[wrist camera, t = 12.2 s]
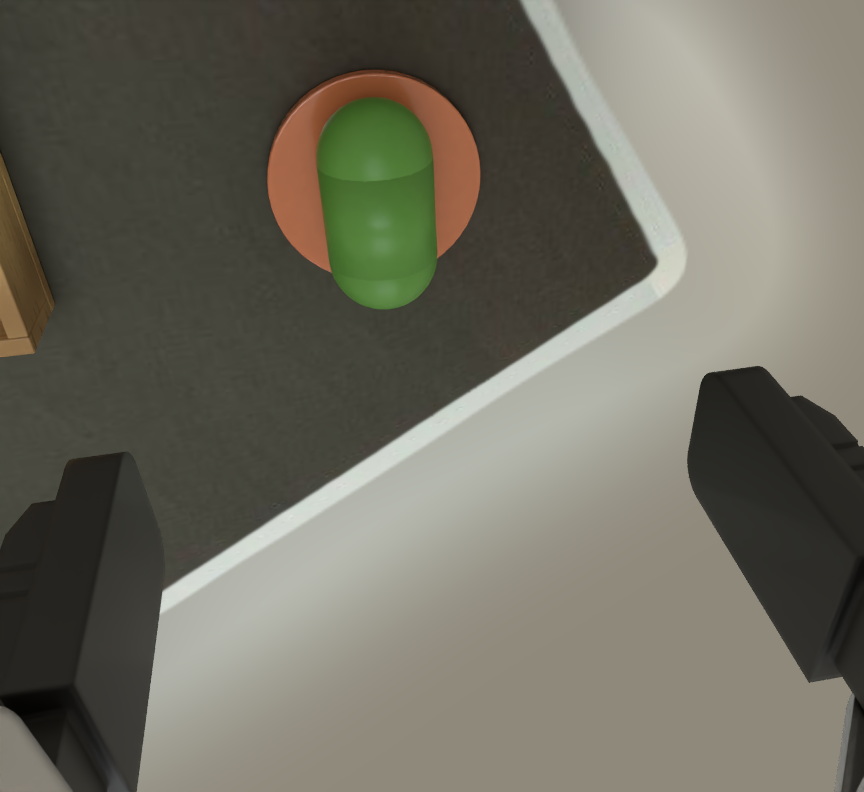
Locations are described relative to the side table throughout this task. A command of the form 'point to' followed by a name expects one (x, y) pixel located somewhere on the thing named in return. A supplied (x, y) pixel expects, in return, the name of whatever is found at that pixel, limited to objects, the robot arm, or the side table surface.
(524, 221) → the side table surface
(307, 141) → the plate
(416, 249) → the cucumber
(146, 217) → the side table surface
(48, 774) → the robot arm
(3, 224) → the wooden tray
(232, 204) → the side table surface
